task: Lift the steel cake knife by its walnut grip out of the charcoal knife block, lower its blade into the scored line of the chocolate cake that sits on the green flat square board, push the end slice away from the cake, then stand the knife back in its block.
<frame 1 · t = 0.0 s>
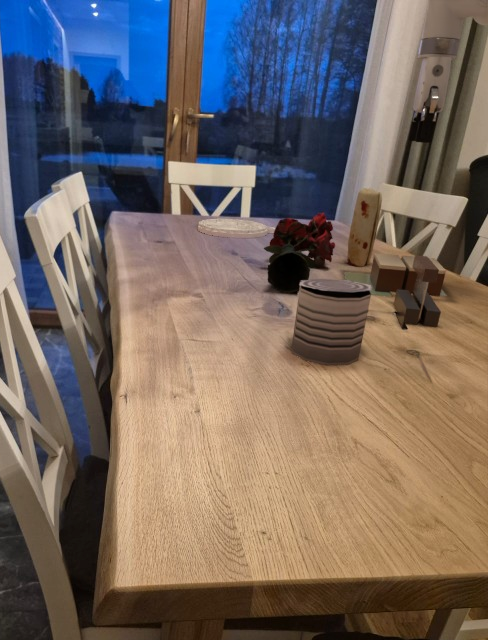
hand: (419, 141, 126), 32 cm above the table, tool pointing down, fingers open, 9 cm apart
can: (324, 354, 96), on the table
knife: (413, 319, 115), on the table
medallion: (237, 232, 195), on the table
cake: (417, 288, 134), resting on green flat square board
rose vase: (295, 276, 142), on the table
knife block: (413, 319, 115), on the table
green flat square board: (393, 289, 135), on the table
cake slice: (384, 285, 135), point 1 cm above the table, touching green flat square board
food model: (356, 266, 156), on the table
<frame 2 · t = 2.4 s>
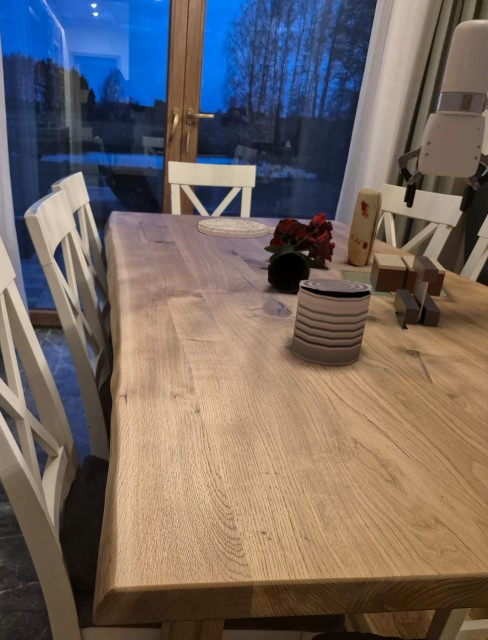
hand: (435, 209, 107), 21 cm above the table, tool pointing down, fingers open, 9 cm apart
nothing on the table moved.
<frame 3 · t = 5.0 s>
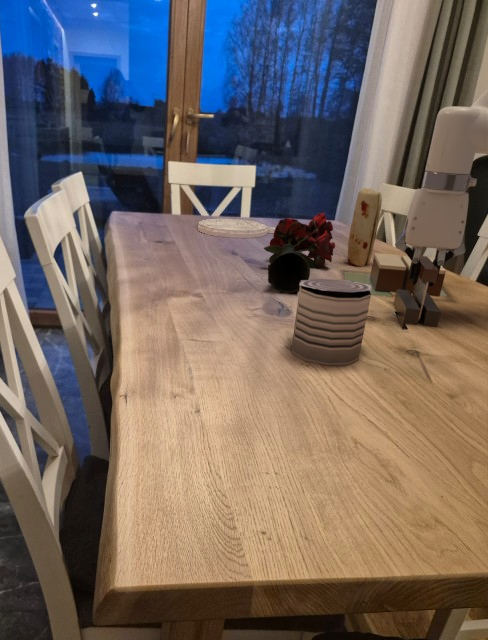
hand: (421, 282, 112), 7 cm above the table, tool pointing down, fingers closed on knife, 2 cm apart
knife: (413, 319, 115), on the table, touching gripper
everything else where it was.
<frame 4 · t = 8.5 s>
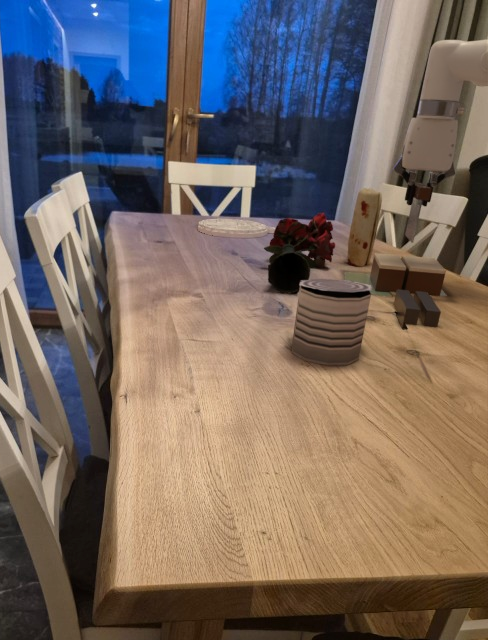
hand: (416, 204, 126), 19 cm above the table, tool pointing down, fingers closed on knife, 2 cm apart
knife: (408, 238, 129), point 12 cm above the table, touching gripper
everything else where it was.
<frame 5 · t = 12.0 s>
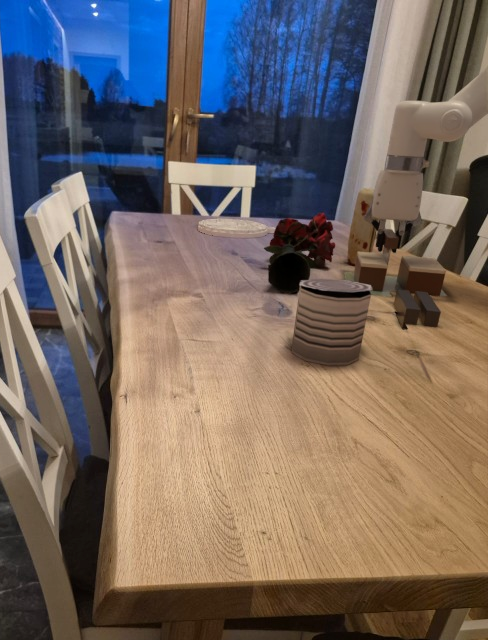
hand: (386, 250, 132), 9 cm above the table, tool pointing down, fingers closed on knife, 2 cm apart
knife: (380, 282, 135), point 1 cm above the table, touching cake slice, gripper
cake slice: (367, 283, 136), point 1 cm above the table, touching green flat square board, knife
everything else where it was.
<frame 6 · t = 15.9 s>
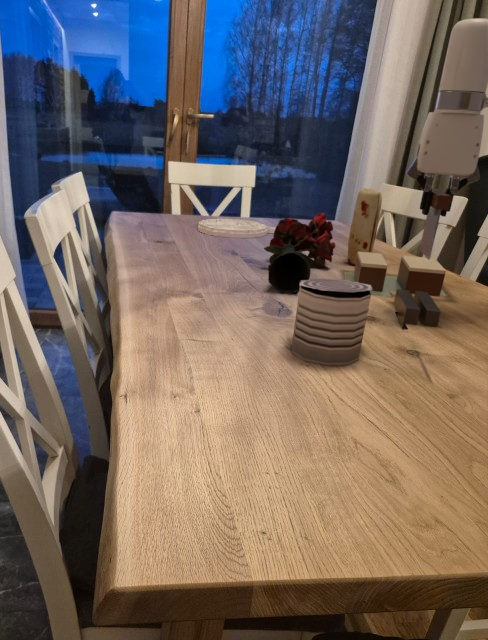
hand: (433, 213, 107), 20 cm above the table, tool pointing down, fingers closed on knife, 2 cm apart
knife: (424, 254, 111), point 13 cm above the table, touching gripper
cake slice: (367, 283, 136), point 1 cm above the table, touching green flat square board
everything else where it was.
when the fingers open (7 cm above the table, at t = 18.8 s): knife stays where it is, on the table.
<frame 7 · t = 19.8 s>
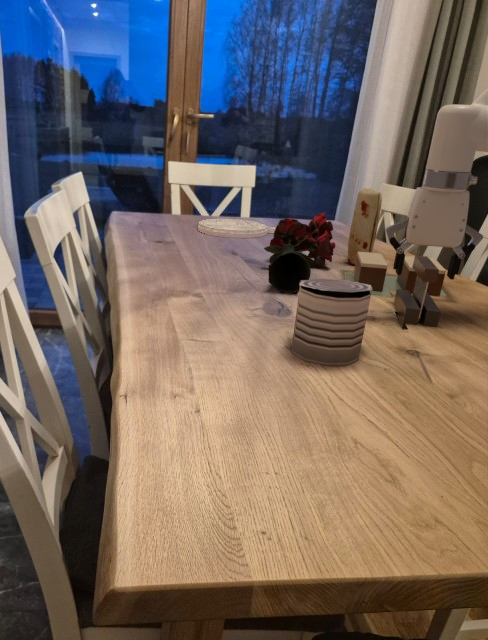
hand: (423, 275, 111), 9 cm above the table, tool pointing down, fingers open, 9 cm apart
knife: (412, 319, 115), on the table
everything else where it was.
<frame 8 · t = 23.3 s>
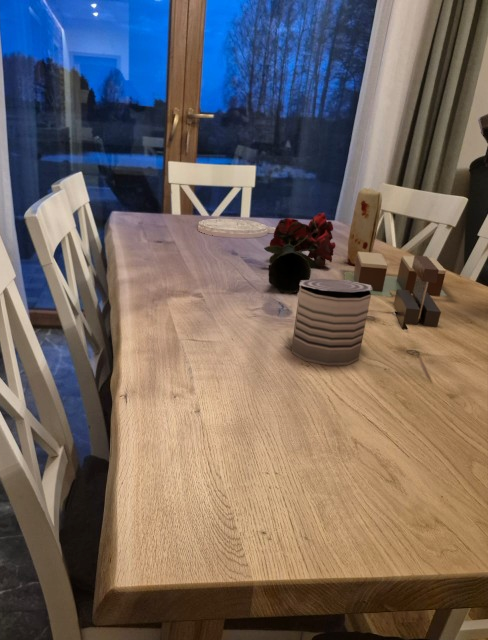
nothing on the table moved.
at the end: cake slice 1.0 cm from the target spot, point 0.8 cm above the table; cake slice tilted 0°; knife 0.0 cm off-centre on the knife block, point 0.0 cm above the knife block's base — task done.
